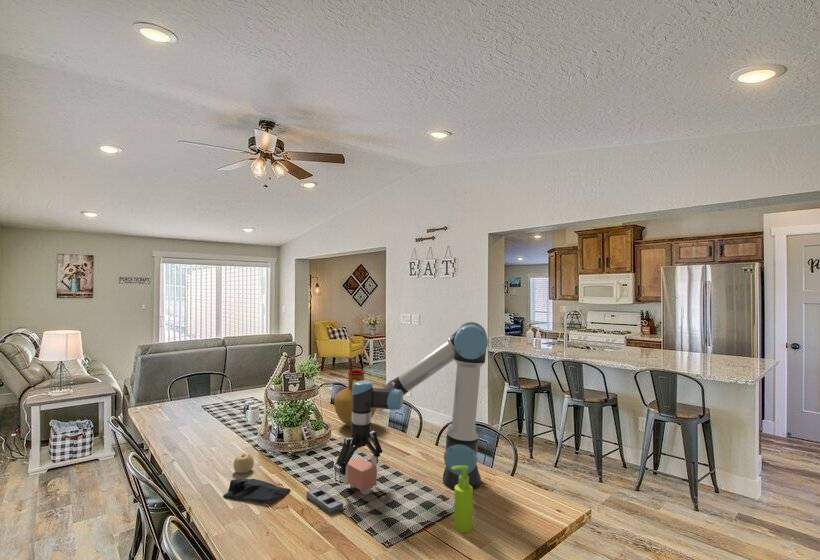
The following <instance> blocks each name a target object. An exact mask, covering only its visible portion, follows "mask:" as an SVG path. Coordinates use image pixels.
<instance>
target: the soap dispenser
mask: <svg viewBox="0 0 820 560" xmlns="http://www.w3.org/2000/svg"><path fill="white" fill-rule="evenodd" d="M452 469H453V470H459V469H461V475H459V484H457V485H455V489H454V503H453V504H454V505H453V506H454V509H453V510H454V512H453V513H454V514H453V516H454V517H453V522H454V523H453V528H454V530H456V532H458V533H462V534H463V533H464V534H465V533H470V532H471V531H472V530H473V511H474V510H473V504H474V503H473V500H474V499H473V495H474V493H473V491H474V489H473V487H472V486H471V485H469V476H468V475H466V472H467V470H469V468H468V466H467V465H456V466H452Z"/></svg>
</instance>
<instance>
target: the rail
mask: <svg viewBox="0 0 820 560" xmlns="http://www.w3.org/2000/svg"><path fill="white" fill-rule="evenodd" d="M306 499H308V500H310V501H311V502H312V503H313V504H314V505H317V506H318V507H319V508H320V509H321V510H323V511H324V512H326V513H327V514H329V515H334V514H336V513H338V512H341V511H344V502H342V501H341V500H339V499H337V498H336V497H335V496H333V495H332V494H331V493H329V492H327V490H324V489H323V488H321V487H320V486H318V487H315V488H312V489H310V490H306Z"/></svg>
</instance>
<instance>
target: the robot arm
mask: <svg viewBox="0 0 820 560" xmlns="http://www.w3.org/2000/svg"><path fill="white" fill-rule="evenodd" d="M488 340H489V339H488V336H487V332H486V330H485V328H484V327H483V325H481V324H479V323H477V322H474V321H473V322H472V321H471V322H470V321H469V322H465V323H463V324H461V326H460V327H459V328H458V329H457V330H456V331H455V332H454V333H453V334H451V335H450V336H448V339H447V341H446V342H444V343H443V344H442V345H440V346H439V347H437V348H436V349H434V350H433V351H432V352H430V353H429V354H427V355H426V356H425V357H423V358H422V359H420V360H419V361H417V362H416V363H415V364H413V365H412V366H411V367H409V368H408V369H406V370H405V371H403V372H402V373H401V374H399V375H398V376H397V377H395V378H394V379H391V380H389V381H388V382H387V384H385V386H384V387H382V388H380V387H373V386H374V385H373V383H372V382H371V381H370V380H369V381H368V380H364V381H357V382H355V383H354V384H353V391H352V423H351V428H350V429H351V430H350V432H351V437H344V439H343V443H342V447H341V450H340V453H339V454H338V458H337V460H336V462H335V464H336V465H337V466H339V467H340V475H341V482H342V483H344V484H345V485H347V484H349V483H348V466H347V464H348V462H349V461H351V459H352V457H353V455H354V453H355V452H356V451H357V450H358V449H360V448H362V447H367V449H369V451H370V452H371V453H372V454H371V455H370V463H371V464H373V465H375V466H377V464H379V457H380V456H381V454H382V453H383V449H382V447H381V446H382V445H380V442H379V439H378V435H377V434H378V433H377V431H374V430H372V418H371V408H376V409H379V410H380V409H382V410H391V411H393V410H394V411H395V410H396V411H398V410H401V408H402V407H403V405H404V404H403V403H404V396H405V395H406V394H407V393H409V392H410V391H411V390H412V389H414V388H415V387H417V386H418V385H421V383H423V382H425V380H428V379H429V378H430V377H431V376H433V375H434V374H436V373H438V372H439V371H440V370H442V369H444V368H445V367H446V366H447V365H449V364H450V363H452V362H456V374H455V386H454V393H453V394H454V396H453V397H454V398H453V407H452V408H453V409H452V419H451V423H450V424H448V426H447V431H446V438H445V449H444V450H445V451H444V454H443V461H444V465H445V468H444V471H443V474H442V482H443V484H444V485H445V486H446V487H447V488H450V489H451V490H455V485H457V484H459V475H461V469H459V470H453V469H452V466H456V465H467V466H468V468H469V470H467V472H466V475H468V476H469V485H471V486H472V487H473V490H477V488H480V487H481V483H482V482H481V481H482V478H481V474H480V470H479V466H478V464H477V463H478V446H479V433H478V429H477V428H478V427H477V425H476V419H477V411H478V410H477V409H478V399H479V398H478V397H479V387H480V386H479V385H480V376H481V367H482V366H483V365H484V364H485V363H486V356H487V348H488V345H489V341H488ZM370 438H371V440H370ZM371 441H372V442H371ZM372 444H373V445H372ZM377 467H378V466H377Z"/></svg>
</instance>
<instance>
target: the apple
mask: <svg viewBox="0 0 820 560" xmlns="http://www.w3.org/2000/svg"><path fill="white" fill-rule="evenodd" d="M254 463H255V461H254V457H253V455H251V454H250V453H248V452H243V453H240V454H238V455H237V456H236V457H235V458H234V460H233V469H234V471H235V472H236V473H237V474H247V473H249V472H250V471H251V470H252V469H253V468H254Z"/></svg>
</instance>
